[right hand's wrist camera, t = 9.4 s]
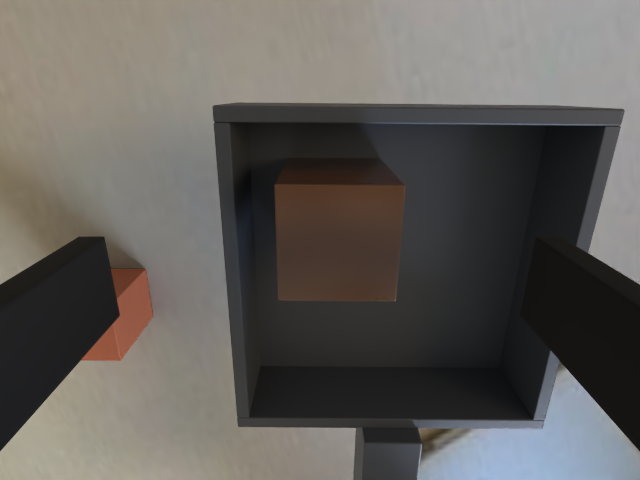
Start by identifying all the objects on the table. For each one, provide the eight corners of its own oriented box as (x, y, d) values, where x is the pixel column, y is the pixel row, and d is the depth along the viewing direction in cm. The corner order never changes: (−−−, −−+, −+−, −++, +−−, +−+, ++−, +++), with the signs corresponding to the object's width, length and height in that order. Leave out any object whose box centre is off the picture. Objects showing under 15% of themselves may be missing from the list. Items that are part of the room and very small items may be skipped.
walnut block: (287, 157, 19) (273, 184, 14) (380, 158, 19) (405, 185, 14) (289, 244, 21) (277, 301, 15) (375, 245, 21) (396, 301, 15)
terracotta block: (90, 268, 33) (43, 305, 27) (145, 268, 33) (109, 305, 27) (100, 316, 34) (57, 360, 29) (153, 316, 34) (120, 360, 29)
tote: (236, 102, 19) (205, 106, 14) (556, 105, 19) (644, 110, 14) (260, 507, 28) (247, 600, 23) (474, 509, 28) (509, 601, 23)
